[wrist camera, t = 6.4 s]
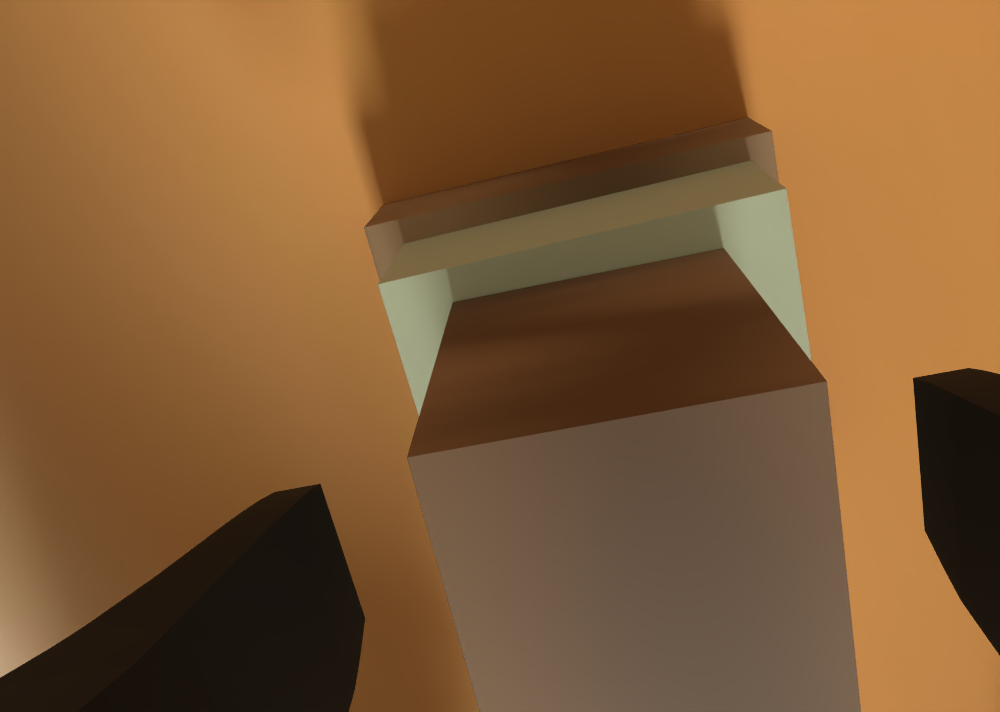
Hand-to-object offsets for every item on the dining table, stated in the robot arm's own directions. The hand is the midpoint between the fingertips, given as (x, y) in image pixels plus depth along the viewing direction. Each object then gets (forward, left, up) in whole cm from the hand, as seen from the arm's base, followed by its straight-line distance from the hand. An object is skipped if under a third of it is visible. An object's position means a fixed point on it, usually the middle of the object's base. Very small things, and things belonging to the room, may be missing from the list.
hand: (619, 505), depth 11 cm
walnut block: (0, 0, -3) cm, 3 cm away
